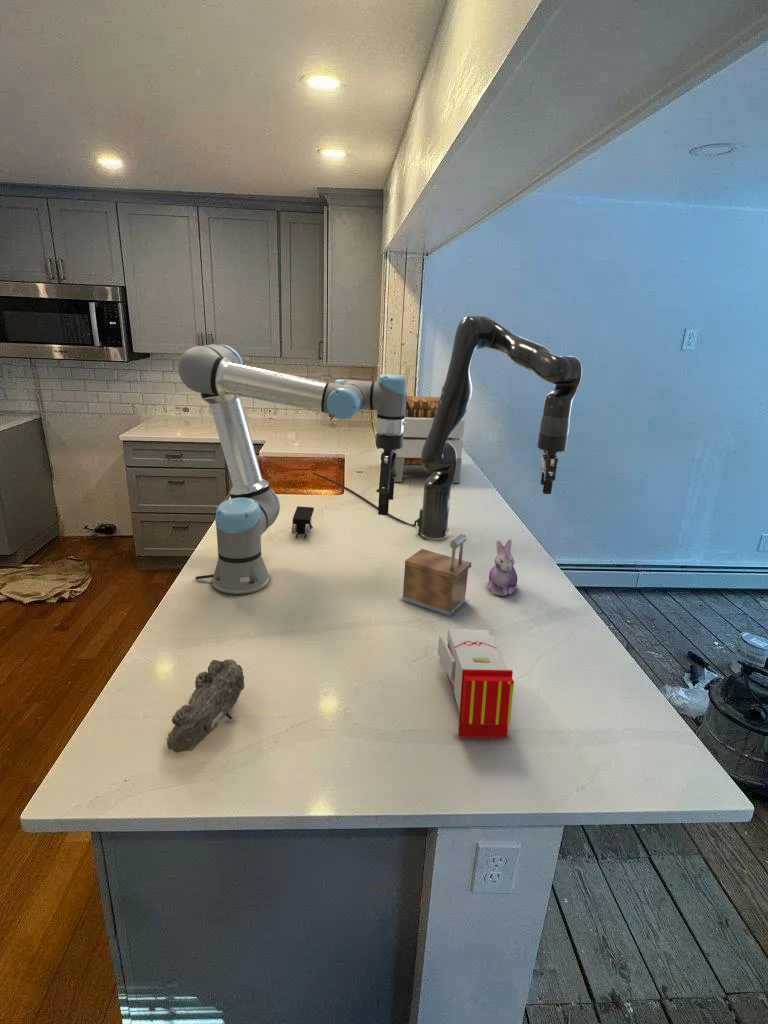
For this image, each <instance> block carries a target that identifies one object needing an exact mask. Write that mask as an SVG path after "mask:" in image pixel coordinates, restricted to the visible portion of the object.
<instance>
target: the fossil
mask: <svg viewBox="0 0 768 1024" xmlns="http://www.w3.org/2000/svg"><path fill="white" fill-rule="evenodd" d="M243 670H244V669H243V667H242V665H240V664H237V662H236V661H235V660H234V659H232V658H231V659H227V658H226V659H224V660H223V661H222V660H217V659H212V660H211V661H210V663H209V665H208V666H207V671H201V672H199V673H198V674H197V675H196V676H195V680H194V684H195V685H194V687H195V689H194V690H193V693H192V694H191V697H190V698H189V700H188V704H184V705H182V706H181V707H180V709H177V710H176V711H175V713H174V715H173V716H172V718H171V723H172V724H173V727H172V730H171V731H170V732H168V734H167V738H166V741H167V742H166V745H167V749H168V750H169V751H173V752H174V753H176V754H178V753H182V752H188V751H189V752H192V751H193V750H195V748H196V747H197V746H199V744H200V743H201V742H203V741H204V740H205V739H206V738H207V737H208V736H209V735H210V734H211V733H212V732H214V730H215V729H217V727H218V726H219V724H220V722H221V721H222V720H223V719H224V718H225V716H226V717H227V719H229V720H233V717H232V715H230V714H229V710H230V709H231V708H234V706H235V704H236V703H237V702H238V699H239V697H240V695H241V693H242V691H243V690H245V689H244V688H245V675H244V671H243Z"/></svg>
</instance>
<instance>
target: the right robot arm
mask: <svg viewBox="0 0 768 1024" xmlns="http://www.w3.org/2000/svg"><path fill="white" fill-rule="evenodd" d="M482 349H488V350H489V349H490V350H494V351H498V352H500V353H502V354H504V355H505V356H506V357H508V358H509V360H510V361H511V362H513V363H515V364H516V365H518V366H520V367H521V368H524V369H526V370H529V372H533V373H535V374H536V376H538V377H539V378H541V380H543V381H545V382H547V383H549V384H552V385H554V388H553V390H552V391H551V392H549V393H548V394H546V396H545V399H544V402H543V403H544V404H543V412H542V417H541V420H540V425H539V432H538V433H539V434H538V439H537V448H538V449H539V450H541V451H543V453H542V454H541V463H540V467H541V469H540V470H541V478H540V485H541V486H543V487H542V494H543V495H551V494H552V489H553V484H554V482H555V481H556V474H557V469H558V468H557V467H558V463H559V457H558V454H557V453H562V452H565V451H566V449H567V445H568V439H569V438H568V437H569V433H570V432H569V431H570V424H571V423H570V421H571V420H570V419H571V418H570V417H571V411H572V405H573V401H574V398H575V396H576V393H577V390H578V388H579V385H580V383H581V380H582V377H583V365H582V362H581V361H580V358H578V357H576V356H575V355H574V356H573V355H563V356H561V355H556V354H553V353H551V350H550V349H548V348H547V347H545V346H543V345H541V344H539V343H536V342H535V341H533V340H529V339H527V338H524V337H522V336H520V335H517V334H515V333H513V331H512V332H511V331H510V330H509V329H507V328H505V327H504V326H502V325H501V324H500V323H498V322H496V321H495V319H492V318H490V317H489V316H484V315H467V316H464V317H463V318H462V319H461V320H460V322H458V325H457V328H456V331H455V336H454V341H453V346H452V353H451V356H450V362H449V366H448V370H447V372H446V373H447V374H446V377H445V381H444V384H443V386H442V387H443V390H442V389H441V392H442V393H441V392H440V393H441V394H440V396H439V397H440V400H439V404H438V408H437V411H436V414H435V418H434V421H433V424H432V427H431V430H430V432H429V435H428V437H427V439H426V442H425V444H424V447H423V450H422V453H421V464H422V466H421V467H422V468H423V470H424V471H426V472H428V473H431V475H430V476H429V477H427V478H426V479H425V480H424V482H423V493H422V496H423V497H422V506H421V508H420V509H419V516H418V518H417V519H416V520H415V521H414V523H413V524H411V523H408V522H407V521H404V520H402V519H400V518H398V517H396V516H394V515H392V514H391V513H389V512H388V515H387V516H388V517H390V518H392V519H394V520H395V521H398V522H400V523H402V524H404V525H408V526H411V527H416V526H417V527H418V530H417V535H418V536H420V538H421V539H424V540H426V541H432V542H440V541H444V540H446V539H447V538H448V533H449V532H450V531H449V530H450V527H448V525H449V517H450V516H449V514H450V504H451V494H452V493H451V491H452V486H453V484H454V483H453V482H454V476H455V469H456V462H457V455H456V450H455V448H454V446H453V445H452V444H450V443H447V442H446V440H447V438H448V436H449V435H450V433H451V432H452V430H453V429H454V428H455V427H456V426H457V424H458V423H459V422H460V421H461V419H464V417H465V415H466V413H467V410H468V408H469V406H470V402H471V399H472V396H473V395H472V394H473V384H472V379H471V373H470V372H471V371H470V366H471V362H472V358H473V355H474V352H475V350H482ZM312 475H314V476H316V477H319V478H322V479H324V480H327V481H329V482H331V483H333V484H335V485H337V486H339V487H341V488H343V489H345V490H347V491H349V492H350V493H352V494H353V495H355V496H357V497H358V498H360V499H362V500H363V501H365V502H366V503H367V504H369V505H371V506H372V507H374V508H375V509H377V510H378V506H377V505H376V504H374V503H372V502H371V501H369V500H368V499H366V498H365V497H364V496H362V495H360V494H358V493H357V492H356V491H353V490H352V489H350V488H349V487H347V486H345V485H343V484H341V483H339V482H338V481H337V482H336V481H334V480H333V479H330V478H328V477H326V476H323V475H321V474H318V473H316V472H312Z"/></svg>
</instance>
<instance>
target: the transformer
mask: <svg viewBox="0 0 768 1024" xmlns="http://www.w3.org/2000/svg"><path fill="white" fill-rule="evenodd" d="M443 387H444V386H442V387H441V392H440V393H442V390H443ZM407 394H408V393H407ZM407 394H406V406H405V418H404V421H403V422H406V423H407V424H406V425H404V432H403V433H401V434H403V436H404V437H403V447H402V448H401V449H397V450H395V453H396V462H395V471H396V472H395V474H397V478H396V477H393V478H394V483H402V482H403V475H404V469H405V466H406V467H407V466H411V467H412V466H413V467H415V466H416V467H417V466H418V467H422V464H421V453H422V450H423V447H424V444H425V442H426V439H427V437H428V435H429V432H430V430H431V427H432V424H433V421H434V418H435V414H436V411H437V408H438V404H439V400H440V397H441V396H415V395H414V396H413V395H412V396H411V395H407ZM464 429H465V419H464V418H462V419H461V421H460V422H459V423H458V424H457V426H456V427H455V428H454V429H453V430H452V432H451V433H450V435H449V436H448V438H447V440H446V442H447V443H450V444H452V445H453V446H454V448H455V450H456V455H457V462H456V469H455V476H454V482H453V484H455V483H456V484H459V483H461V472H462V461H463V460H462V453H463V442H464V441H463V440H462V439H463V438H464V431H465V430H464Z"/></svg>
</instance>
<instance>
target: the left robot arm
mask: <svg viewBox="0 0 768 1024" xmlns="http://www.w3.org/2000/svg"><path fill="white" fill-rule="evenodd" d="M177 371H178V375H179V378H180V380H181V382H182V384H183V385H184V386H186V387H187V388H188V389H190V390H191V391H193V392H196V393H200V396H201V399H202V400H203V401H204V402H206V403H207V404H208V405H209V407H210V411H211V414H212V417H213V421H214V424H215V428H216V431H217V436H218V438H219V442H220V446H221V448H222V451H223V455H224V460H225V463H226V466H227V470H228V473H229V477H230V480H231V484H232V486H231V488H230V490H229V491H228V492H229V493H228V494H229V497H230V499H226V500H224V501H222V502H221V503H220V504H218V506H217V507H216V510H215V519H214V521H215V528H216V543H217V554H218V555H217V557H218V558H217V562H216V565H215V568H214V572H213V574H205V575H198V576H195V580H197V581H198V580H204V579H212V584H213V588H215V590H216V591H218V592H220V593H223V594H227V595H235V596H236V595H238V596H239V595H248V594H253V593H255V592H259V591H260V590H262V589H264V588H265V587H267V586H268V584H269V582H270V580H269V579H270V577H269V571H268V568H267V567H266V563H265V561H264V559H263V556H262V536H263V534H264V533H265V532H266V531H267V530H268V529H269V528H270V527H271V526H272V525H273V524H274V523H275V522H276V521H277V518H278V517H279V514H280V510H281V503H280V499H279V497H278V495H277V493H275V492H274V491H273V490H272V489H271V486H270V483H269V481H268V480H266V479H264V478H263V476H262V472H261V469H260V465H259V462H258V457H257V454H256V450H255V447H254V443H253V439H252V435H251V431H250V427H249V425H248V420H247V417H246V413H245V409H244V406H243V403H242V402H243V401H242V398H241V397H243V398H247V399H248V398H249V399H252V400H253V399H254V400H259V401H265V402H269V403H273V404H278V405H285V406H288V407H289V406H290V407H293V408H299V409H303V410H309V411H314V412H318V413H324V414H327V415H331V416H332V417H333V418H335V419H337V420H341V421H342V420H343V421H344V420H349V419H352V417H354V416H355V415H357V413H359V411H360V410H367V411H376V423H375V424H376V425H375V432H377V433H375V446H376V448H378V449H381V450H383V451H382V452H381V454H380V473H379V482H378V483H379V484H378V488H376V493H378V504H377V505H378V506H377V507H378V509H377V510H378V511H377V515H379V516H388V513H389V505H390V501H394V496H395V495H394V493H395V482H394V478H393V477H396V478H397V474H395V472H396V471H395V462H396V453H395V450H397V449H401V448H402V447H403V437H404V436H403V434H401V433H403V432H404V425H406V424H407V423H406V422H403V421H404V418H405V406H406V394H408V393H407V379H406V377H405V376H404V375H401V374H394V373H383V374H380V375H379V376H378V379H377V381H376V380H375V381H368V380H356V379H350V378H346V379H336V380H334V382H328V381H323V380H319V379H313V378H309V377H303V376H299V375H293V374H288V373H283V372H278V371H273V370H268V369H263V368H259V367H253V366H248V365H244V361H243V360H242V357H241V356H240V354H239V353H238V352H237V351H236V349H234V348H233V347H231V346H229V345H226V344H223V343H222V344H221V343H210V344H205V345H197V346H192V347H190V348H188V349H187V350H185V351H183V353H182V354H181V356H180V358H179V360H178V364H177Z"/></svg>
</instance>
